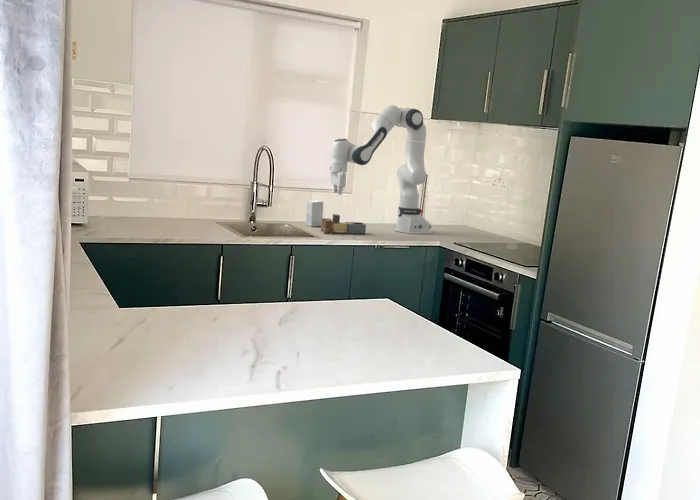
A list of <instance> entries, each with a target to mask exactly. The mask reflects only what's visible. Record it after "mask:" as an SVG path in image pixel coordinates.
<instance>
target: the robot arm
mask: <svg viewBox="0 0 700 500" xmlns="http://www.w3.org/2000/svg"><path fill="white" fill-rule="evenodd" d="M370 125H371V126H370V128H371V130H372V132H373V134H372V135H371V137H370V138H369V139H368V141H367V142H365V144H363V145H355V144H353V143H352V142H351V141H349V139H347V138H338V139H335V140H333V142H332V148H331V156H332V159H331V162H330V163H331V165H330V167H329V170H330V182H331V184H333V192H334V194H337V195H338V196H341V195H342V194H343V188H346V185H347V174H346V173H347V172H348V162H349V163H351V164H352V163H353V164H357V165H359V166H365V165H367V164H369V162H370V161H371V159H372V157H373V155H374V153H375V152H376V150H377V149H379V148H378V147H379V146H381V144H382V143H383V141H384V140H385V139H386V138H387V135H388V134H389V133H390V132H391V130H392V129H394V128H395V126H396V127H398V128H404V129H406V131H407V136H406V140H405V141H406V142H405V148H404V155H405V160H406V164H402V165H400V166H398V168H397V171H396V176H397V178H398V185H399V206H398V207H397V208H398V209H397V220H396V221H397V222H396V225H395V227H394V231H396V232H400V233H406V234H409V235H410V234H411V235H412V234H414V235H415V234H417V235H420V234H422V235H423V234H425V235H426V234H431V235H432V234H433V230H432V229H430V223H429V221H428V220H427V219H426V218H425V217H424V216H423V215H422V214H423V213H424V212H425V211H424V210H423V209H422V208H421V209H420V208H419V201H420V193H419V190H418V186H420V185H422V184H423V183H425V182H426V180H427V172H426V170H425V169H426V168H425V150H426V140H427V126H426V124H424V116H423V113H422V111H420V110H419V109H417V108H410V107H405V108H401V107H398V106H396V105H393V104H392V105H388V106H387V107H385V108H384V109H383V110H381V111H380V112H379V113H378V114H377V116H375V118H373V120H372V121H371V124H370Z"/></svg>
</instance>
